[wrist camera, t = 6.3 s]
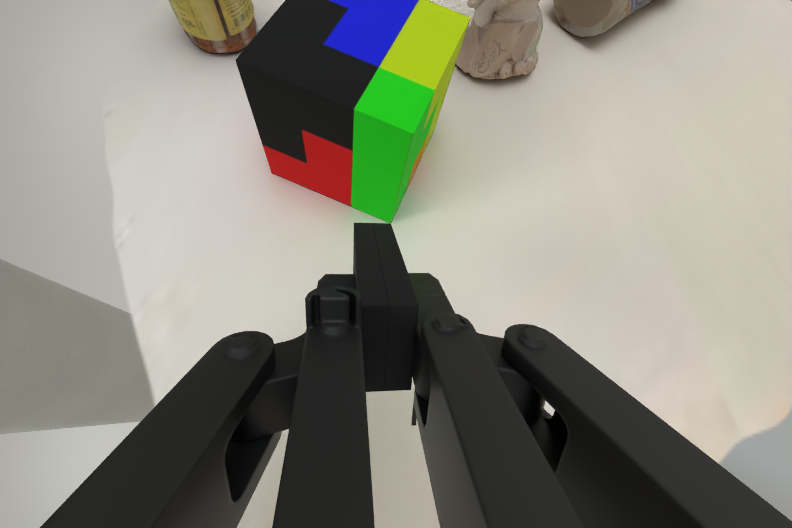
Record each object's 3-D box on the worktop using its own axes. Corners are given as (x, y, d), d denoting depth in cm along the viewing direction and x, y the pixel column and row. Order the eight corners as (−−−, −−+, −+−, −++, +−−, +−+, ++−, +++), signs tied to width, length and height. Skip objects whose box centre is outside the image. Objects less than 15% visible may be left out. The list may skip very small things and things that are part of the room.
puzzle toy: (328, 86, 32) (321, -43, 23) (433, 130, 32) (470, 17, 22) (271, 173, 28) (235, 59, 19) (390, 223, 28) (413, 133, 19)
